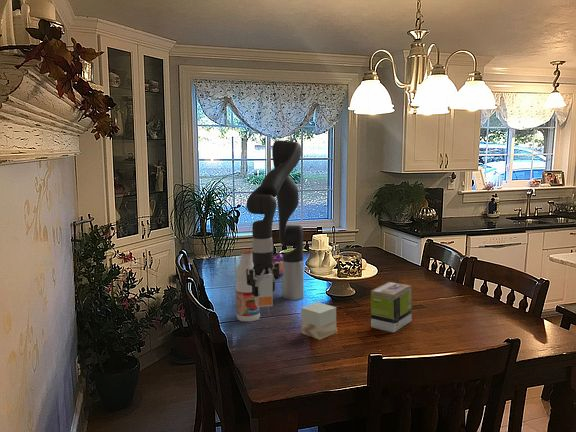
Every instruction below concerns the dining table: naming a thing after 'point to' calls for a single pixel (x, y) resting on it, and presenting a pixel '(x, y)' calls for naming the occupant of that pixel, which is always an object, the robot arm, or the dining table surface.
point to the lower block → (319, 330)
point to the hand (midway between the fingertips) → (263, 293)
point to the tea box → (391, 306)
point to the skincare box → (265, 291)
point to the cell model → (279, 260)
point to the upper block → (318, 314)
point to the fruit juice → (245, 290)
